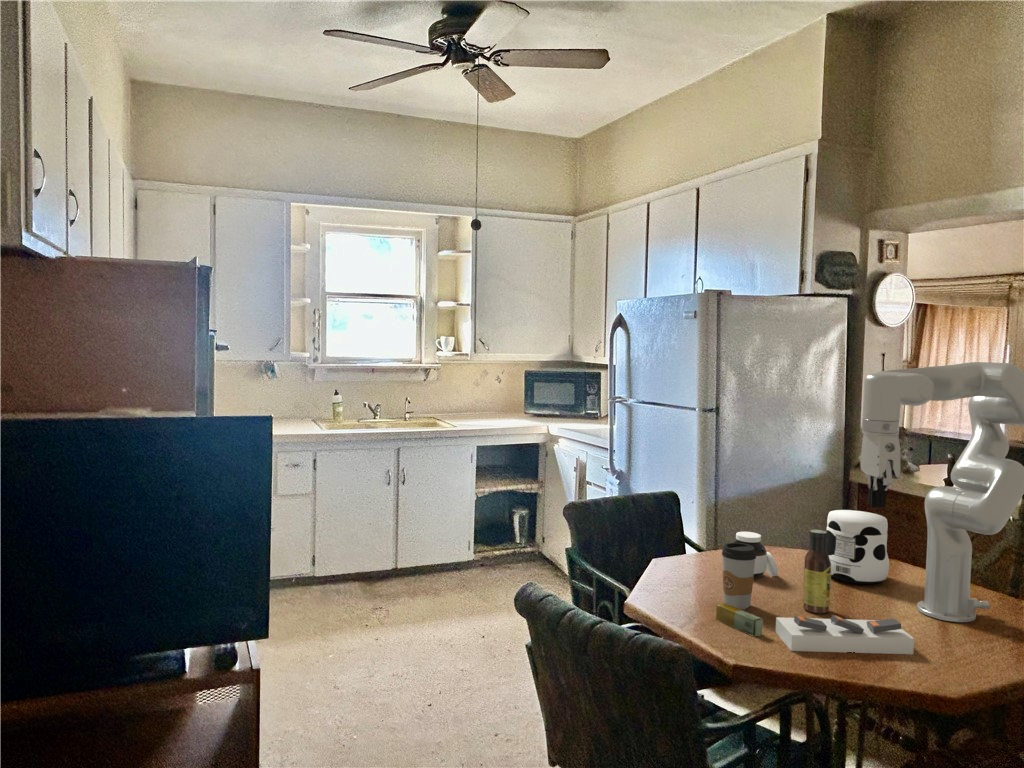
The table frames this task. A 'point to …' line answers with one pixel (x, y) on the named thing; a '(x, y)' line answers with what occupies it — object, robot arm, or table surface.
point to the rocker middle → (847, 624)
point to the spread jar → (758, 553)
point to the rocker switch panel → (843, 638)
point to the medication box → (739, 619)
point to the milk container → (857, 546)
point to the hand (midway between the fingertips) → (876, 506)
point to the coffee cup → (738, 574)
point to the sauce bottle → (817, 574)
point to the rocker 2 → (884, 625)
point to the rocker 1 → (810, 623)
